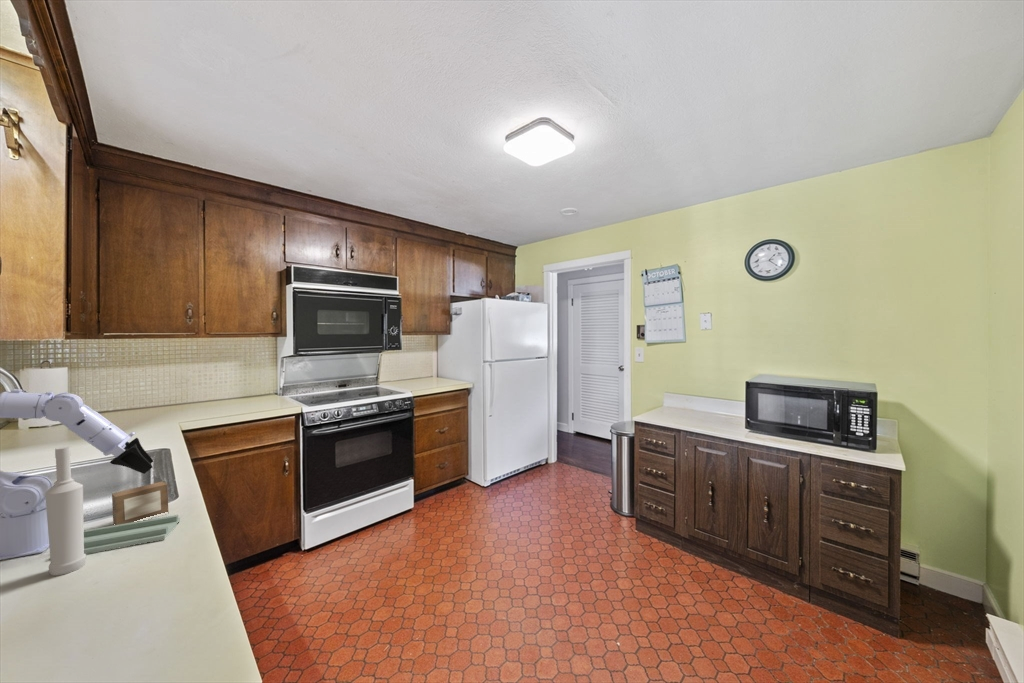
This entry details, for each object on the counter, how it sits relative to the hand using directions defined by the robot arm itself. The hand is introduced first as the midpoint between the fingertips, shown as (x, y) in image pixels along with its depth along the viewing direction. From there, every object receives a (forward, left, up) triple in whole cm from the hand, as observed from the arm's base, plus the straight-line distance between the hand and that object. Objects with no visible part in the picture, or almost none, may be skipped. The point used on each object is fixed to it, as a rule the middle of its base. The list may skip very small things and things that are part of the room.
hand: (149, 467), depth 103 cm
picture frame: (-3, +3, -14) cm, 15 cm away
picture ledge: (-2, -9, -14) cm, 17 cm away
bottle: (-7, -20, -14) cm, 25 cm away
